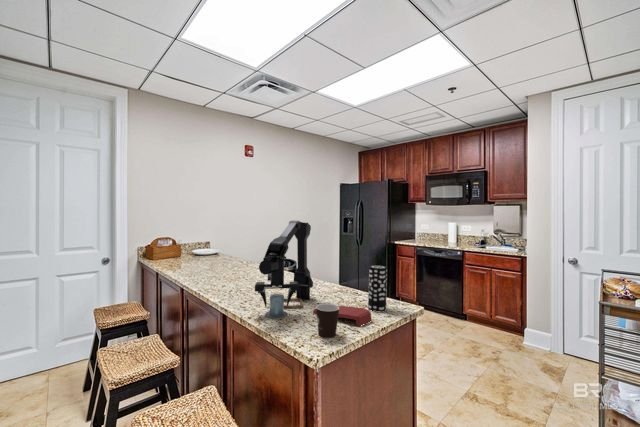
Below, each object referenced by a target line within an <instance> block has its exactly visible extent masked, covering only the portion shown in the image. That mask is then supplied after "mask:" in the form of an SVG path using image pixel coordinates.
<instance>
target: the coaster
mask: <svg viewBox="0 0 640 427" xmlns="http://www.w3.org/2000/svg"><path fill="white" fill-rule="evenodd" d="M288 316H289V313H288V312H287V311H285V310H284V314H283V315H282V316H271V315H270V310H269V311H267V312H265V313H264V317H265V318H267V319H271V320H279V319H280V320H281V319H285V318H287V317H288Z"/></svg>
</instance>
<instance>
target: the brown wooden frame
mask: <svg viewBox="0 0 640 427" xmlns="http://www.w3.org/2000/svg"><path fill="white" fill-rule="evenodd" d="M285 302H286V303H287V298H284V303H285ZM290 302H299V303H300V304H294V305H293V304H292V305H291V304H290V305H289V304H288V306H287V304H286V305H285V304H284V310H285V309H290V310H291V309H304V303H303V300H302V299H301V298H297V297H295V298H292V297H291V299H290Z"/></svg>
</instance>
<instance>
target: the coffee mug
mask: <svg viewBox="0 0 640 427" xmlns="http://www.w3.org/2000/svg"><path fill="white" fill-rule="evenodd" d="M338 306H339V305H336V304H332V303H321V304H317V305H316V306H315V309H316V313H317V314H316V323H317V333H318V334H317V335H318V336H319V337H320V338H323V339H332V338H335V337H336V336H337V335H336V334H337V327H338V319H339V317H338V314H339V307H338Z"/></svg>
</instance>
